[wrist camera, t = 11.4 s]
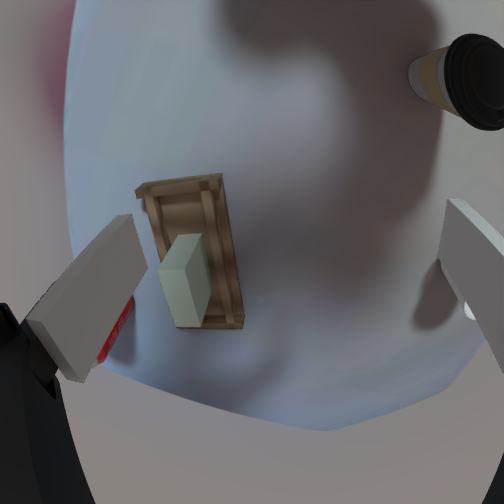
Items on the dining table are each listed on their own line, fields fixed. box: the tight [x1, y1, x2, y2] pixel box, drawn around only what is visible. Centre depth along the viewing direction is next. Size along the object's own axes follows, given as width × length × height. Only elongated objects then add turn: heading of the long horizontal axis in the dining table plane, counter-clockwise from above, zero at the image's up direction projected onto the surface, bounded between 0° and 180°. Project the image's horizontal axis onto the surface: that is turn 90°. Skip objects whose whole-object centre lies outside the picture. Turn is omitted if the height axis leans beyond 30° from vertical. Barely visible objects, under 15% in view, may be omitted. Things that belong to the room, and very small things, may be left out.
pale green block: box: [157, 233, 213, 327], centre depth 41 cm, size 9×4×9 cm, turn 6°
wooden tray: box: [135, 173, 245, 329], centre depth 45 cm, size 24×11×3 cm, turn 6°
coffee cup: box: [408, 34, 504, 131], centre depth 23 cm, size 9×9×15 cm
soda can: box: [91, 296, 134, 369], centre depth 45 cm, size 8×8×15 cm
